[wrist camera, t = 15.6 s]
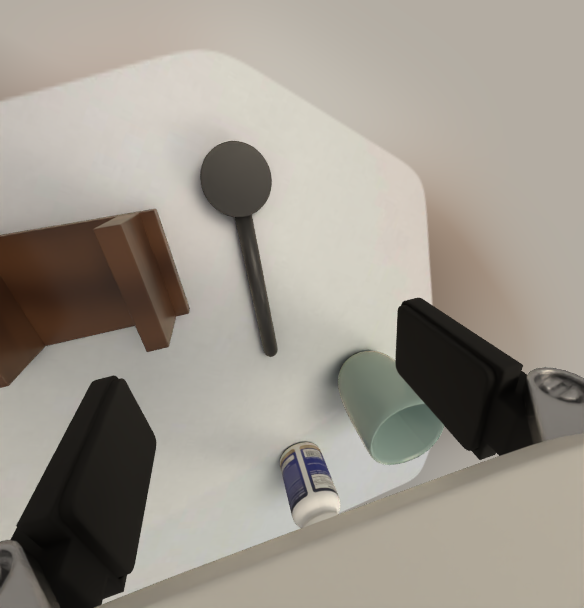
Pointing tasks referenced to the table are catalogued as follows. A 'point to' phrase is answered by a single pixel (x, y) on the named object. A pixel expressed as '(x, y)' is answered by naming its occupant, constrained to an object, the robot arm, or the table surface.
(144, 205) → the table surface
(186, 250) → the table surface
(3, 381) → the rack
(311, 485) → the pill bottle
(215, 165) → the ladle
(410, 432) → the cup
